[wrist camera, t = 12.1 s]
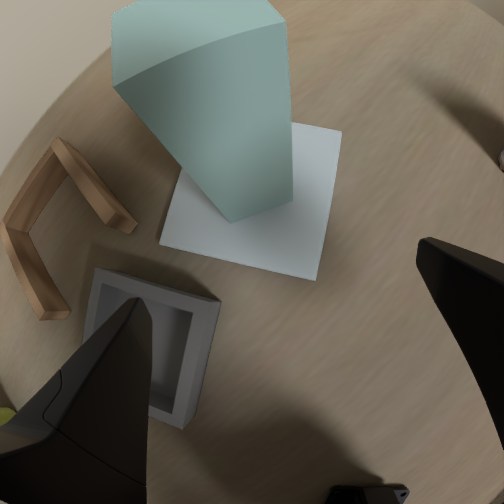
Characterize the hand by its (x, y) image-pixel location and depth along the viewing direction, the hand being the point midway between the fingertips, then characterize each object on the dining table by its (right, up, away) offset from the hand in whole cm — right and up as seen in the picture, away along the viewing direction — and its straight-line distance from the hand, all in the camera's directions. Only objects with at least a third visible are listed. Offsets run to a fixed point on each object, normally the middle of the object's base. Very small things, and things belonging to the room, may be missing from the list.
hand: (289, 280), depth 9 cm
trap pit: (-8, -5, +9) cm, 13 cm away
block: (-1, +5, +9) cm, 11 cm away
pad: (-1, +5, +10) cm, 11 cm away
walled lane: (-16, +3, +12) cm, 20 cm away
